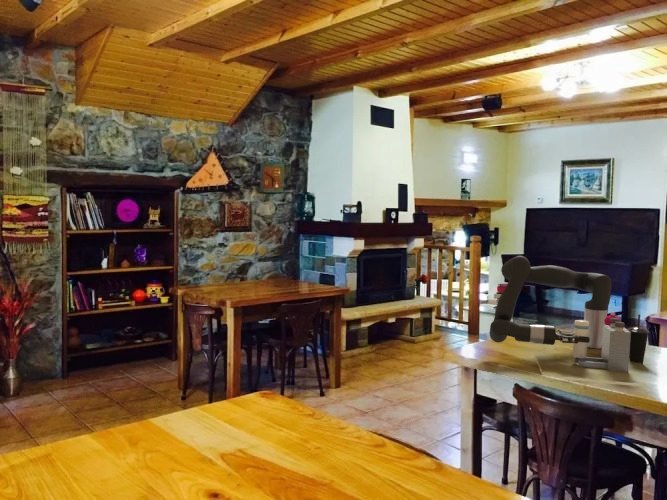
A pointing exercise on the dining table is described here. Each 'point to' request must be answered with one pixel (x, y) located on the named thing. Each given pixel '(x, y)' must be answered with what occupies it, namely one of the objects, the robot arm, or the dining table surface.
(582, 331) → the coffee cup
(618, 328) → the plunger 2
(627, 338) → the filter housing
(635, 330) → the drinking cup
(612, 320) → the plunger
